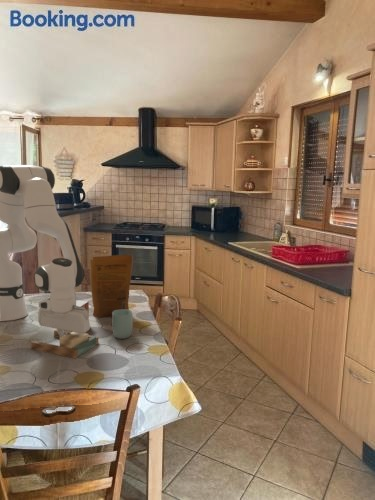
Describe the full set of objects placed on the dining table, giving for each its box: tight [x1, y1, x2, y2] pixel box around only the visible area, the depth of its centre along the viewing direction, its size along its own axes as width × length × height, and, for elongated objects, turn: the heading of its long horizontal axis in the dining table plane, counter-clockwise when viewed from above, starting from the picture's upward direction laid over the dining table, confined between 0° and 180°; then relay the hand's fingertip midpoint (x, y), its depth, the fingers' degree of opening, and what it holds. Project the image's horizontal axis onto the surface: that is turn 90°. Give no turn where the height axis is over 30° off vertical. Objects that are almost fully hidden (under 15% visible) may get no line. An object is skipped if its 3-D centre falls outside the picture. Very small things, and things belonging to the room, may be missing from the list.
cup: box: [111, 309, 134, 340], centre depth 153 cm, size 8×8×10 cm
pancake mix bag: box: [88, 254, 134, 318], centre depth 175 cm, size 7×19×28 cm, turn 105°
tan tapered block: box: [59, 332, 89, 349], centre depth 141 cm, size 6×8×5 cm
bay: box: [30, 328, 99, 359], centre depth 143 cm, size 19×14×3 cm
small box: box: [76, 300, 90, 318], centre depth 161 cm, size 8×6×10 cm
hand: (64, 340), depth 143 cm, fingers closed
